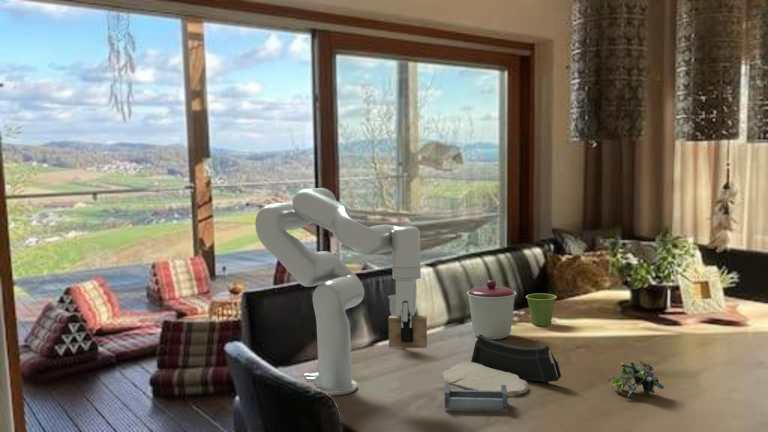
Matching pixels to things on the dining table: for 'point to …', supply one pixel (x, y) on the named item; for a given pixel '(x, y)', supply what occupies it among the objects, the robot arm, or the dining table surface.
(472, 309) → the canister
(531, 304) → the plant pot
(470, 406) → the grey open holder
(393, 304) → the chalice
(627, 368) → the green leafy plant
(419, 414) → the dining table surface
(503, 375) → the stone tablet
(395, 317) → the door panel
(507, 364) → the magazine
